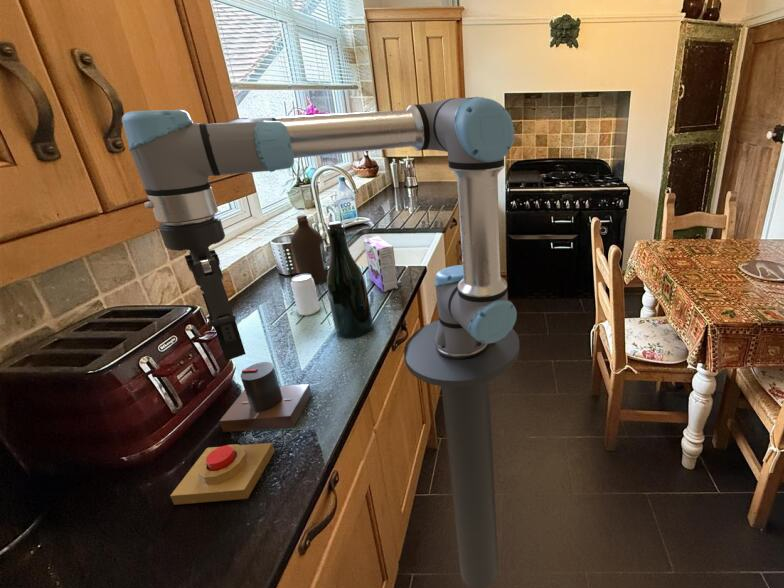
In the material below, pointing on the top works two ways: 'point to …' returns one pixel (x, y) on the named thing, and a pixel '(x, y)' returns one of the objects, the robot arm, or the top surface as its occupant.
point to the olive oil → (309, 251)
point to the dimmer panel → (267, 411)
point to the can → (305, 294)
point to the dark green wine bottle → (346, 287)
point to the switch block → (224, 476)
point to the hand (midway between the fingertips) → (228, 339)
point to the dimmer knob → (261, 386)
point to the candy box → (381, 263)
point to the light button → (220, 458)
